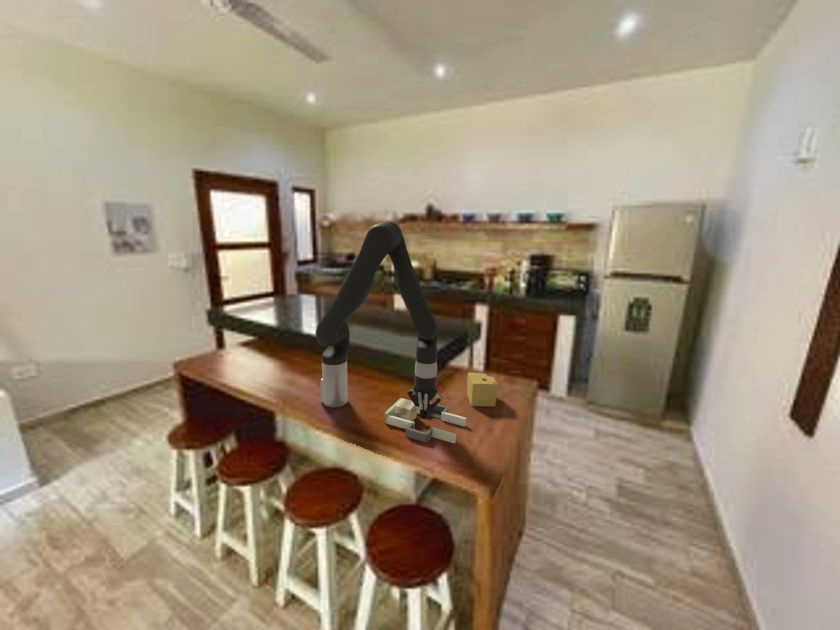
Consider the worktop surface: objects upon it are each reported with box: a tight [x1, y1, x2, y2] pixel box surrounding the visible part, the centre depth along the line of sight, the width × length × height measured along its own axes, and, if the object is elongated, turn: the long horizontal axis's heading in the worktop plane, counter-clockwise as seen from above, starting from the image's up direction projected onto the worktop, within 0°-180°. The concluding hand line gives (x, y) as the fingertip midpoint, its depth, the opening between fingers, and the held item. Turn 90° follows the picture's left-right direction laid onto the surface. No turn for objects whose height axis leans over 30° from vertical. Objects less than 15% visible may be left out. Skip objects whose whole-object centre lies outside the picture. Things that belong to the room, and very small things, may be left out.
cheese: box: [466, 372, 499, 408], centre depth 146 cm, size 10×11×10 cm
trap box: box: [384, 397, 467, 444], centre depth 129 cm, size 26×20×4 cm
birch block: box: [394, 397, 418, 422], centre depth 132 cm, size 6×6×6 cm
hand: (424, 418), depth 129 cm, fingers closed
